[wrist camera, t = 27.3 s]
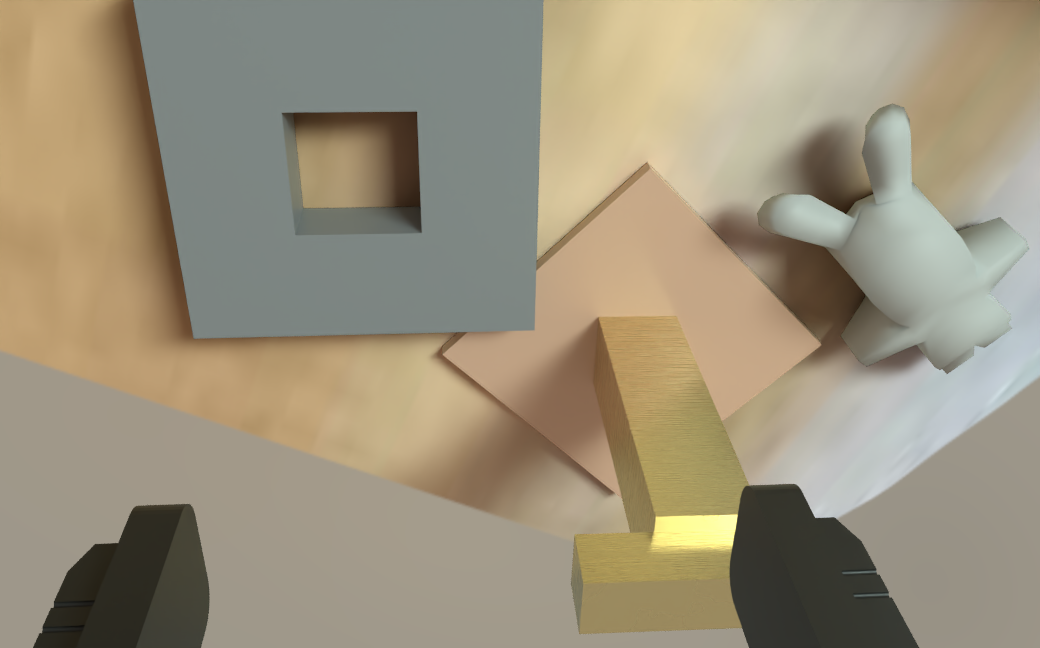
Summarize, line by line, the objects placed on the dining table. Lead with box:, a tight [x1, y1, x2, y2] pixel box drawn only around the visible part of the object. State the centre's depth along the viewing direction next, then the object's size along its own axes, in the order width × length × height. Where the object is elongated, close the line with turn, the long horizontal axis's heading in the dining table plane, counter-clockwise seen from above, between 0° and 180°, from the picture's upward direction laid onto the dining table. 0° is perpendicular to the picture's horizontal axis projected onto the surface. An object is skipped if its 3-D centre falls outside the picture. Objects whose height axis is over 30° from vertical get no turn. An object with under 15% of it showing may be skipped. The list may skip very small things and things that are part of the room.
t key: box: [571, 316, 749, 634], centre depth 43 cm, size 10×4×18 cm, turn 88°
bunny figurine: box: [757, 104, 1029, 374], centre depth 47 cm, size 10×5×15 cm
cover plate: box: [133, 0, 543, 339], centre depth 43 cm, size 16×16×3 cm
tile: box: [442, 162, 821, 498], centre depth 50 cm, size 14×14×1 cm
